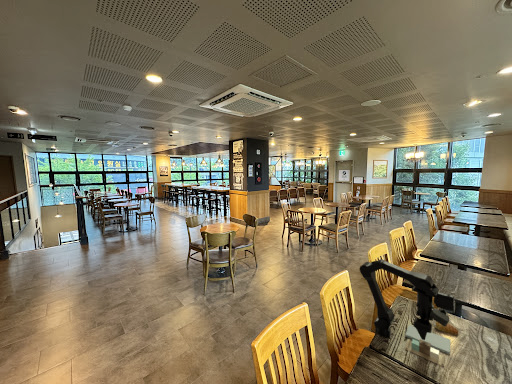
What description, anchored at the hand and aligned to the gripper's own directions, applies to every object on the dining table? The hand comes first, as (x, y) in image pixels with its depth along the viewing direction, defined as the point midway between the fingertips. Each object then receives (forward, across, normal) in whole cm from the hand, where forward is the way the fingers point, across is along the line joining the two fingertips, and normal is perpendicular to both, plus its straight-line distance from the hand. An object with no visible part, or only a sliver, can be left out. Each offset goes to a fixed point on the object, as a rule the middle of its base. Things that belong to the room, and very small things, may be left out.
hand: (424, 333), depth 98 cm
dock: (+11, +11, 0) cm, 15 cm away
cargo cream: (+9, 0, -4) cm, 10 cm away
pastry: (+11, +28, -6) cm, 30 cm away
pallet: (+11, 0, 0) cm, 11 cm away
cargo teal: (+9, 0, +3) cm, 10 cm away
